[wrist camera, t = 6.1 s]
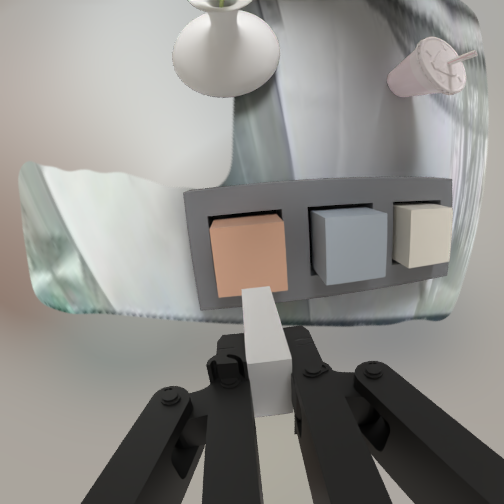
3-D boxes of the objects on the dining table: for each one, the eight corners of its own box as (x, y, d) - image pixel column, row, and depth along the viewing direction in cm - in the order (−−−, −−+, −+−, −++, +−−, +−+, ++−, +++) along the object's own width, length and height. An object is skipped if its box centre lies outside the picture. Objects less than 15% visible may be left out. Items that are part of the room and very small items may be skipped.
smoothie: (426, 101, 28) (502, 83, 15) (391, 113, 29) (469, 90, 15) (405, 58, 27) (473, 22, 13) (368, 66, 27) (434, 22, 13)
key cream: (387, 203, 30) (410, 209, 25) (427, 202, 30) (452, 207, 25) (386, 255, 31) (408, 268, 26) (425, 250, 31) (449, 261, 27)
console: (189, 190, 30) (183, 192, 26) (432, 177, 31) (451, 179, 27) (204, 294, 33) (200, 310, 29) (430, 265, 34) (446, 275, 30)
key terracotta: (213, 219, 28) (209, 229, 23) (275, 213, 28) (283, 221, 23) (221, 277, 30) (218, 297, 25) (279, 271, 30) (288, 290, 25)
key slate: (310, 210, 28) (325, 218, 23) (364, 206, 28) (387, 213, 24) (312, 267, 30) (326, 285, 25) (364, 261, 30) (385, 276, 25)
